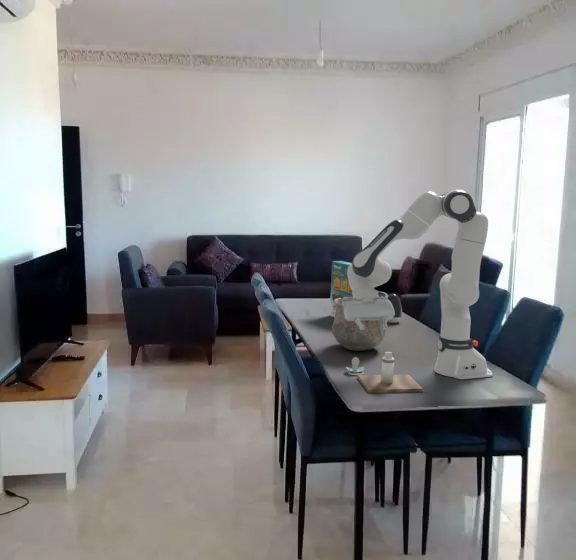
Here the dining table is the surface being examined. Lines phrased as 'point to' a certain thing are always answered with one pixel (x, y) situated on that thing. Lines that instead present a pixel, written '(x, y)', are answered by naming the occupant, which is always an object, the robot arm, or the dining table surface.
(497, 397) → the dining table surface
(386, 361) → the white bar-topped cylinder
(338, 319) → the pot
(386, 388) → the board
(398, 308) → the dark grey domed cylinder
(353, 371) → the pacifier
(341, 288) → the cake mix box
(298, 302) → the dining table surface
